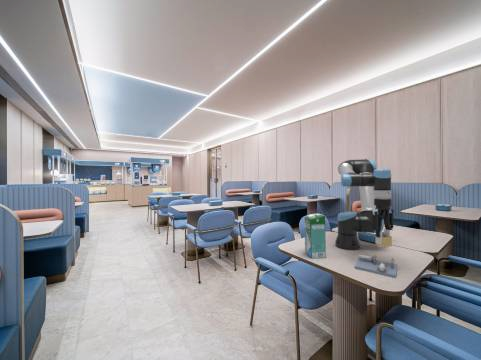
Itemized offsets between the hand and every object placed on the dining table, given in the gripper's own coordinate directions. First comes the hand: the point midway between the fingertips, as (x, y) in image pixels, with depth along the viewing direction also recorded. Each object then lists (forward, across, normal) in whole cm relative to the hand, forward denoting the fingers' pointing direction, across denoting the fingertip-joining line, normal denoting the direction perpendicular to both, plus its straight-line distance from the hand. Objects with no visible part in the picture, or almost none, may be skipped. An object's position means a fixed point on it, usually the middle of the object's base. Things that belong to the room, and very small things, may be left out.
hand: (383, 242), depth 107 cm
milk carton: (+13, -22, +26) cm, 37 cm away
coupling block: (+1, 0, 0) cm, 1 cm away
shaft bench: (+13, -4, +1) cm, 13 cm away
